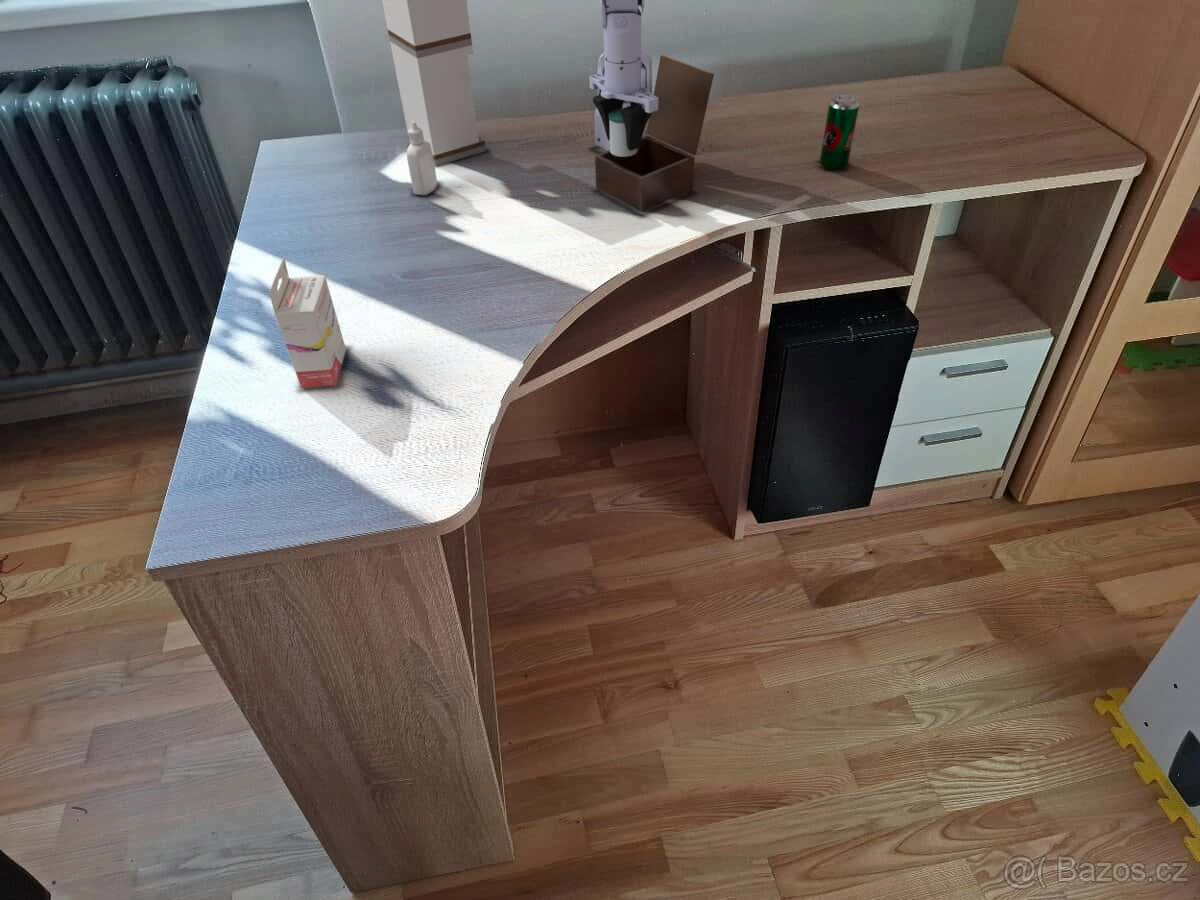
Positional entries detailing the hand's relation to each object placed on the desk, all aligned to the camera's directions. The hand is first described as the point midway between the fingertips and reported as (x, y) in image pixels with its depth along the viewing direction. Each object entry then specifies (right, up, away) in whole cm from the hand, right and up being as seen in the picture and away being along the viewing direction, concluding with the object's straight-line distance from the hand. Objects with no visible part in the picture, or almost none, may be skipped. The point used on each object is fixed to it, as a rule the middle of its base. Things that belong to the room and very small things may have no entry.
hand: (623, 143), depth 135 cm
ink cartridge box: (-41, -40, -26) cm, 63 cm away
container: (0, -1, +1) cm, 1 cm away
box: (+4, -6, +7) cm, 10 cm away
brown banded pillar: (-33, +7, +22) cm, 41 cm away
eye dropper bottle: (-35, -4, +10) cm, 37 cm away
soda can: (+39, +1, +12) cm, 40 cm away
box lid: (+9, +7, +1) cm, 11 cm away
